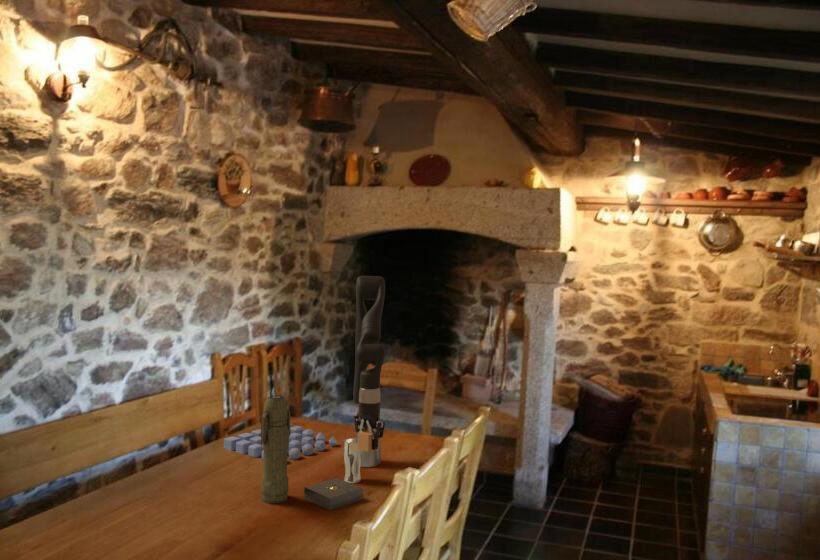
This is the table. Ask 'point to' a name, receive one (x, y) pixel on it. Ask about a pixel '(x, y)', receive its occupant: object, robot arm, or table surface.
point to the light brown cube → (366, 441)
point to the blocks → (296, 439)
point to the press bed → (333, 493)
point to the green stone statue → (275, 449)
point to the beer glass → (352, 460)
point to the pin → (333, 487)
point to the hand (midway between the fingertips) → (368, 447)
